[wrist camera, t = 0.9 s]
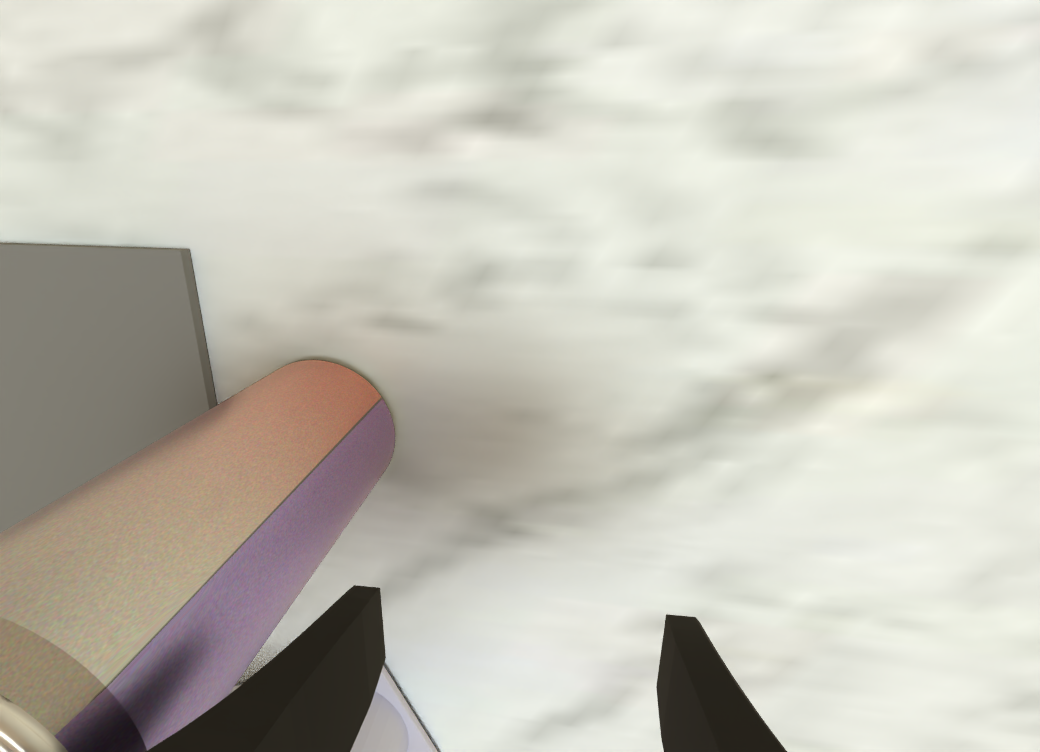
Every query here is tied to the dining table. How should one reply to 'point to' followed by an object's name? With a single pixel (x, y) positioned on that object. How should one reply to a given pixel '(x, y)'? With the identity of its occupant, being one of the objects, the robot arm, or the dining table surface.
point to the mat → (92, 363)
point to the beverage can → (180, 562)
